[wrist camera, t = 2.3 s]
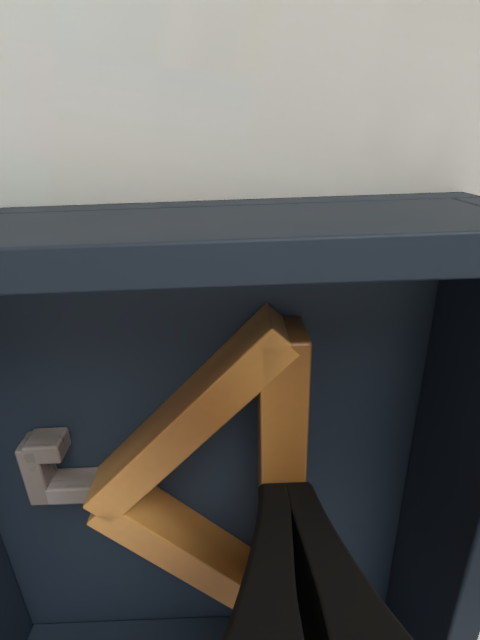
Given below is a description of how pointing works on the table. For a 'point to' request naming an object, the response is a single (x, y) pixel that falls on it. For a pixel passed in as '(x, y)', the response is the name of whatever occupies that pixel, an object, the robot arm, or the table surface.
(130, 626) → the basket
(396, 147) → the table surface
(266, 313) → the hanger
